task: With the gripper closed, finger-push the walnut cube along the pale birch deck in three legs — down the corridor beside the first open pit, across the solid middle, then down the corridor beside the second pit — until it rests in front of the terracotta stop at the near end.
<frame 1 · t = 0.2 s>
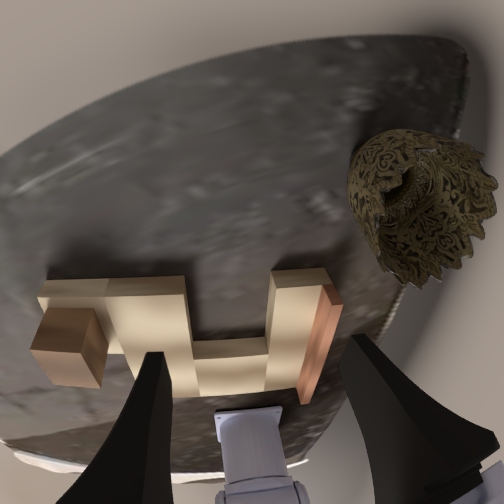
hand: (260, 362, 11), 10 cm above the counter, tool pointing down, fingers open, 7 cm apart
walnut cube: (78, 327, 20), point 2 cm above the counter, touching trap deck
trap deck: (180, 337, 24), on the counter
cup: (368, 162, 18), on the counter
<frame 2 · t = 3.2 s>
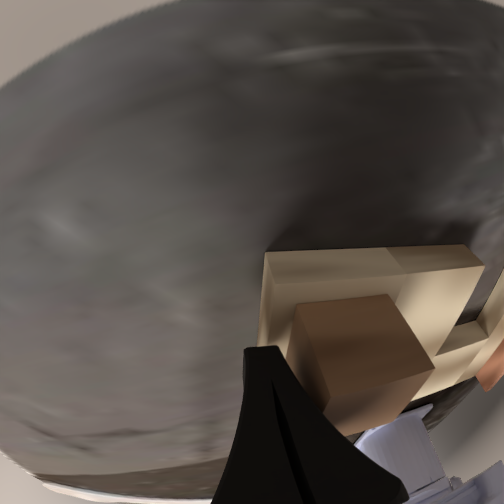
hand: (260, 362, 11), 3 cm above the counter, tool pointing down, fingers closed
walnut cube: (334, 333, 13), point 2 cm above the counter, touching gripper, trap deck
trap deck: (412, 332, 17), on the counter
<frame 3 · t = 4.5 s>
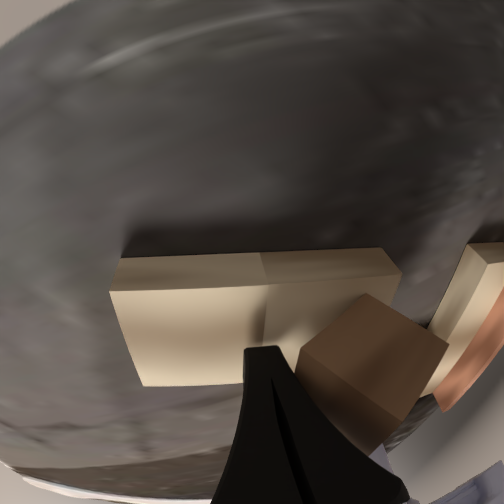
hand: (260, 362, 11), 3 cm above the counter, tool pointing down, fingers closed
walnut cube: (326, 352, 12), point 3 cm above the counter, tilted 34°, touching gripper, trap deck
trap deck: (331, 346, 16), on the counter
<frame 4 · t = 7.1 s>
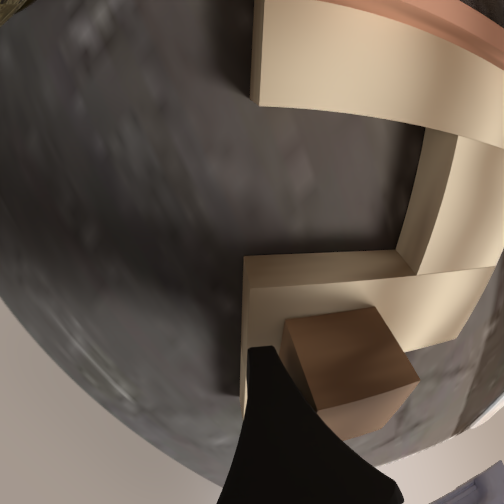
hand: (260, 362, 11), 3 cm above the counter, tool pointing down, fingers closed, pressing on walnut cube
walnut cube: (323, 345, 13), point 2 cm above the counter, touching gripper, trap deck
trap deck: (381, 267, 14), on the counter
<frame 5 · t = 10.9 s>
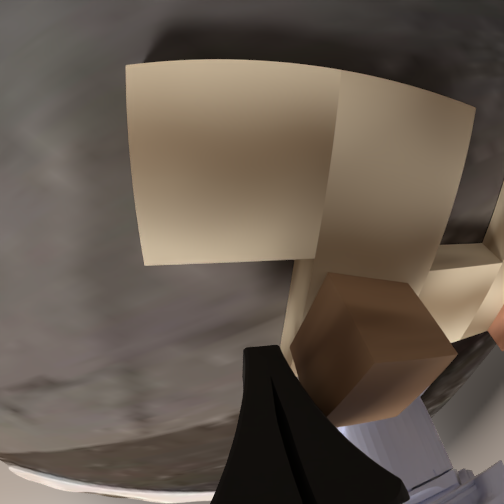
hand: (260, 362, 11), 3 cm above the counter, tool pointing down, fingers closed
walnut cube: (349, 316, 12), point 2 cm above the counter, touching gripper, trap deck
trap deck: (392, 237, 13), on the counter
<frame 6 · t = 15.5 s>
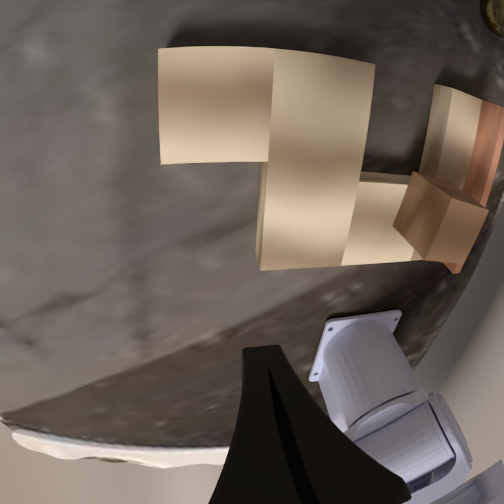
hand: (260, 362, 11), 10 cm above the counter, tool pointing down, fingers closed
walnut cube: (423, 204, 19), point 2 cm above the counter, touching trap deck
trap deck: (332, 162, 18), on the counter
cup: (489, 15, 12), on the counter
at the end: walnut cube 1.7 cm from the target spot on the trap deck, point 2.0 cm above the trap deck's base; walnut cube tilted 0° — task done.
